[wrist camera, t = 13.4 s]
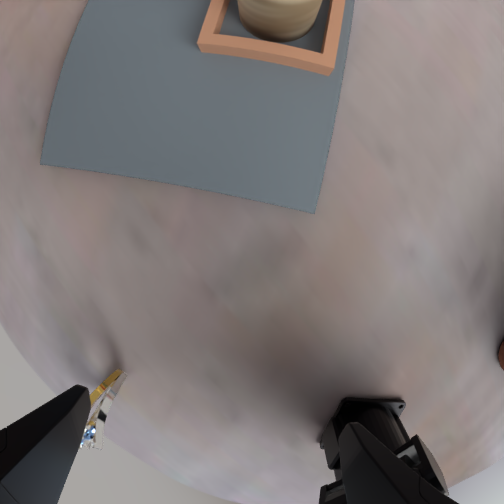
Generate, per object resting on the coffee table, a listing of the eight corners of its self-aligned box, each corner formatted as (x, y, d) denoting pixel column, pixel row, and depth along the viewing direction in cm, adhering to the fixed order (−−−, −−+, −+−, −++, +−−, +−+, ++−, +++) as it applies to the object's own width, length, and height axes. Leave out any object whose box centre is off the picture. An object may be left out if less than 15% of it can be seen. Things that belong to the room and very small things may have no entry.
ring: (118, 345, 22) (72, 405, 14) (151, 368, 23) (115, 435, 15) (91, 390, 24) (52, 445, 16) (119, 409, 24) (87, 469, 16)
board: (353, -11, 15) (362, -27, 13) (311, 212, 20) (318, 217, 17) (111, -29, 15) (99, -43, 13) (47, 164, 19) (27, 164, 17)
